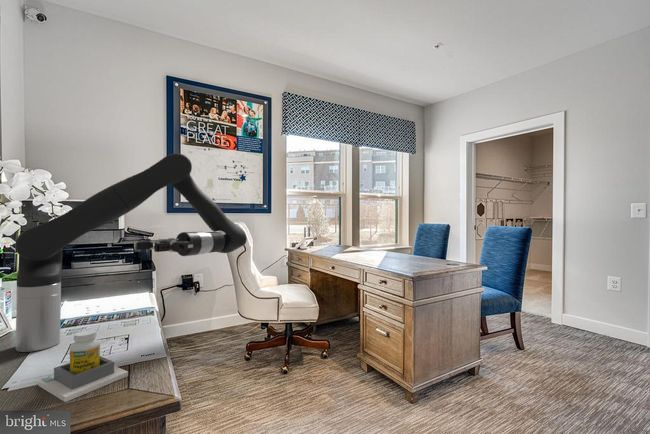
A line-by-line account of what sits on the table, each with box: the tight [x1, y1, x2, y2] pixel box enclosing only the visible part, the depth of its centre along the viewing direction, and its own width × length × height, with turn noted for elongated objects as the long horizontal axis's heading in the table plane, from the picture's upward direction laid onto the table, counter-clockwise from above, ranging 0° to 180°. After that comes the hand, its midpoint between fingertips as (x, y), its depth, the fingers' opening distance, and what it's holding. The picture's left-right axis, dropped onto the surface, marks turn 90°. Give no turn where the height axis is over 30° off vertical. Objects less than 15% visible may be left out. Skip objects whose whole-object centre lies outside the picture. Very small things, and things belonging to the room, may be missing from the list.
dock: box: [37, 355, 129, 403], centre depth 71 cm, size 12×12×4 cm
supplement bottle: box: [69, 329, 101, 375], centre depth 71 cm, size 5×5×10 cm
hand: (145, 247), depth 88 cm, fingers open, 8 cm apart
